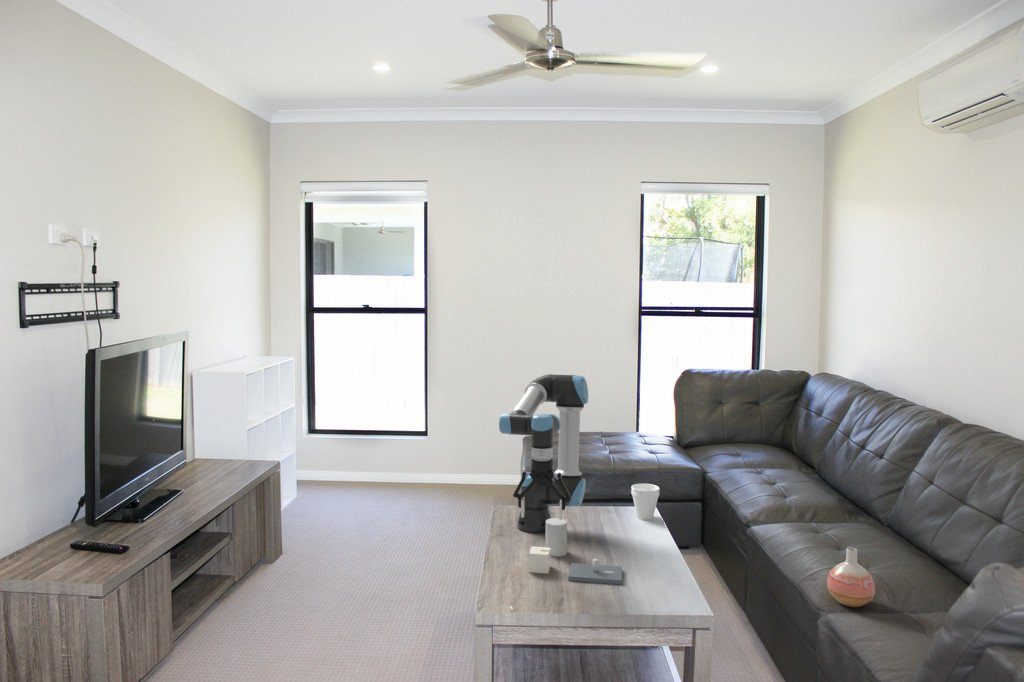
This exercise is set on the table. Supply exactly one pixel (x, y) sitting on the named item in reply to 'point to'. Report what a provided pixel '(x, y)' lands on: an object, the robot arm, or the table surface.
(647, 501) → the cup
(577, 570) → the shaft plate
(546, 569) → the cream cube
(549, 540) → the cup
